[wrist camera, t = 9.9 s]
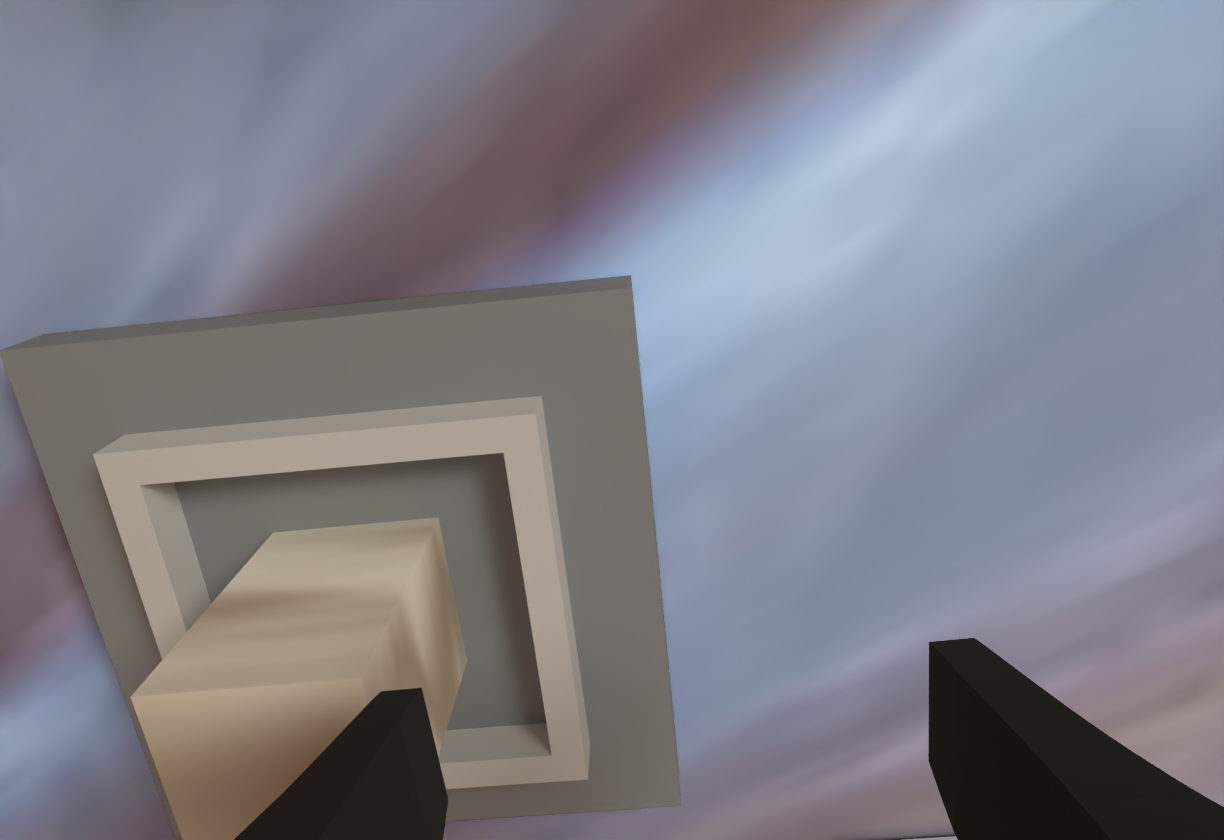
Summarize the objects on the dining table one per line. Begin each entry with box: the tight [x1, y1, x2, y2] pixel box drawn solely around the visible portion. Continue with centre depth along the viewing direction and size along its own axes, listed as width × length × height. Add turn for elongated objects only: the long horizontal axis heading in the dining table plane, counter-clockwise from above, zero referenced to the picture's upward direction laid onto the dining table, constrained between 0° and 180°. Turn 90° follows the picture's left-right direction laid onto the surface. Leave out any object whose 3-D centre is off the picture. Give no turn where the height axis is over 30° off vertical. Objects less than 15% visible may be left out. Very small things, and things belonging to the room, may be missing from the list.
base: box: [0, 275, 681, 839], centre depth 21 cm, size 14×14×3 cm
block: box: [131, 517, 467, 840], centre depth 18 cm, size 4×4×6 cm
